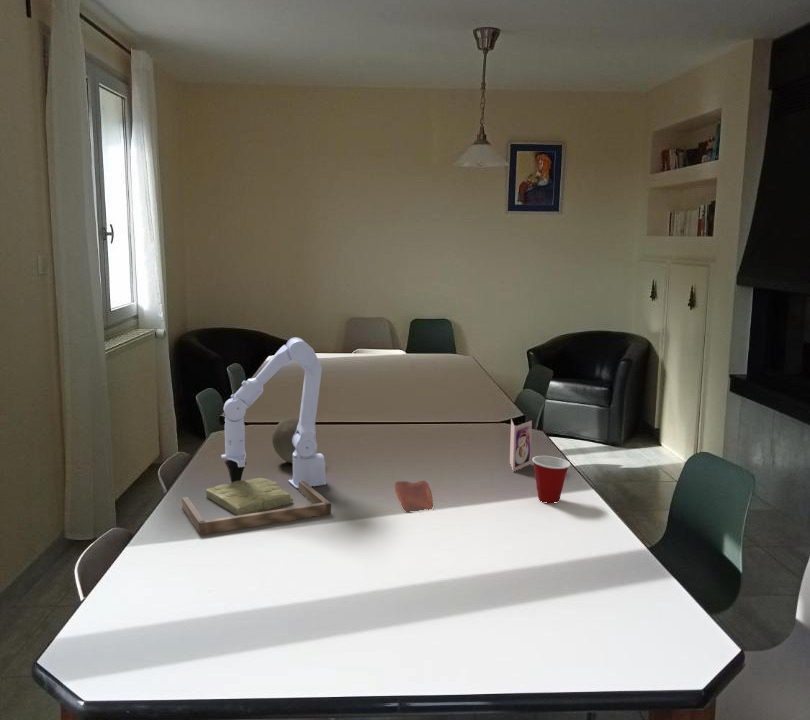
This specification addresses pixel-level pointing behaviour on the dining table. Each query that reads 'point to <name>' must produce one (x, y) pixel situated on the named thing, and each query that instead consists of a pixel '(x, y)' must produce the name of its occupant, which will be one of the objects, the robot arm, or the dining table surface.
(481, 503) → the dining table surface
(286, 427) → the cantaloupe
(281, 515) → the frame
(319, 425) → the dining table surface
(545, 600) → the dining table surface
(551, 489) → the plastic cup
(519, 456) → the greeting card
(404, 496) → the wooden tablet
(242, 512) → the decorative tile
